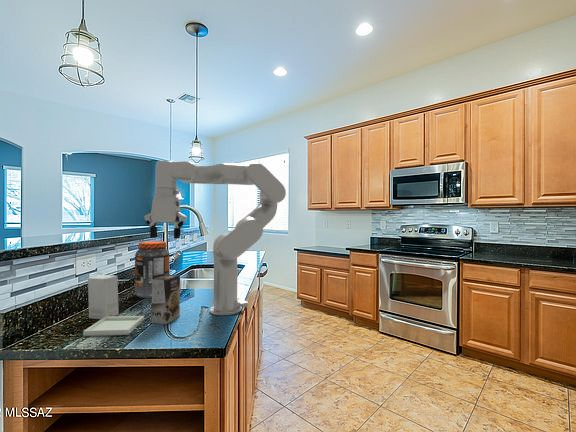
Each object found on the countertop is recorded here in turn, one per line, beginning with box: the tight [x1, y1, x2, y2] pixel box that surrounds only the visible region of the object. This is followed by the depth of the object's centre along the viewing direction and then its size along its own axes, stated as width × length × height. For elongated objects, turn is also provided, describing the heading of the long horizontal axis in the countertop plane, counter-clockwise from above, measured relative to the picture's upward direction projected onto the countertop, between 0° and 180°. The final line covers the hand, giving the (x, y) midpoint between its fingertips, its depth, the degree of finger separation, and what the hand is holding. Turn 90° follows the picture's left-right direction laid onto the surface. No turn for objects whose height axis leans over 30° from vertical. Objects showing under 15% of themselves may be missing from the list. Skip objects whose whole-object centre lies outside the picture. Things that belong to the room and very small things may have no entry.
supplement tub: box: [134, 240, 171, 299], centre depth 152 cm, size 16×16×26 cm
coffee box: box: [151, 274, 181, 325], centre depth 116 cm, size 9×6×16 cm
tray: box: [82, 315, 145, 337], centre depth 108 cm, size 14×14×2 cm
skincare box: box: [87, 274, 119, 320], centre depth 119 cm, size 8×7×16 cm
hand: (165, 238), depth 118 cm, fingers open, 9 cm apart
